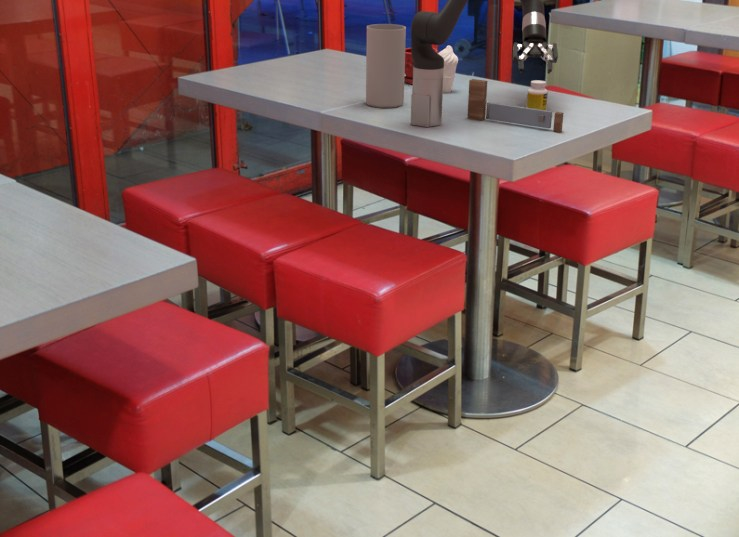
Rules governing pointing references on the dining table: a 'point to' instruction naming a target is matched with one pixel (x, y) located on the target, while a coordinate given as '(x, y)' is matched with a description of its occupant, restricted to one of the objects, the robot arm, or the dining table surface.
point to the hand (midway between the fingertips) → (535, 71)
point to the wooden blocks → (479, 104)
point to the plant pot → (410, 65)
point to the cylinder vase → (385, 65)
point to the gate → (519, 115)
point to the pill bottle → (537, 95)
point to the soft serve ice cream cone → (448, 68)
